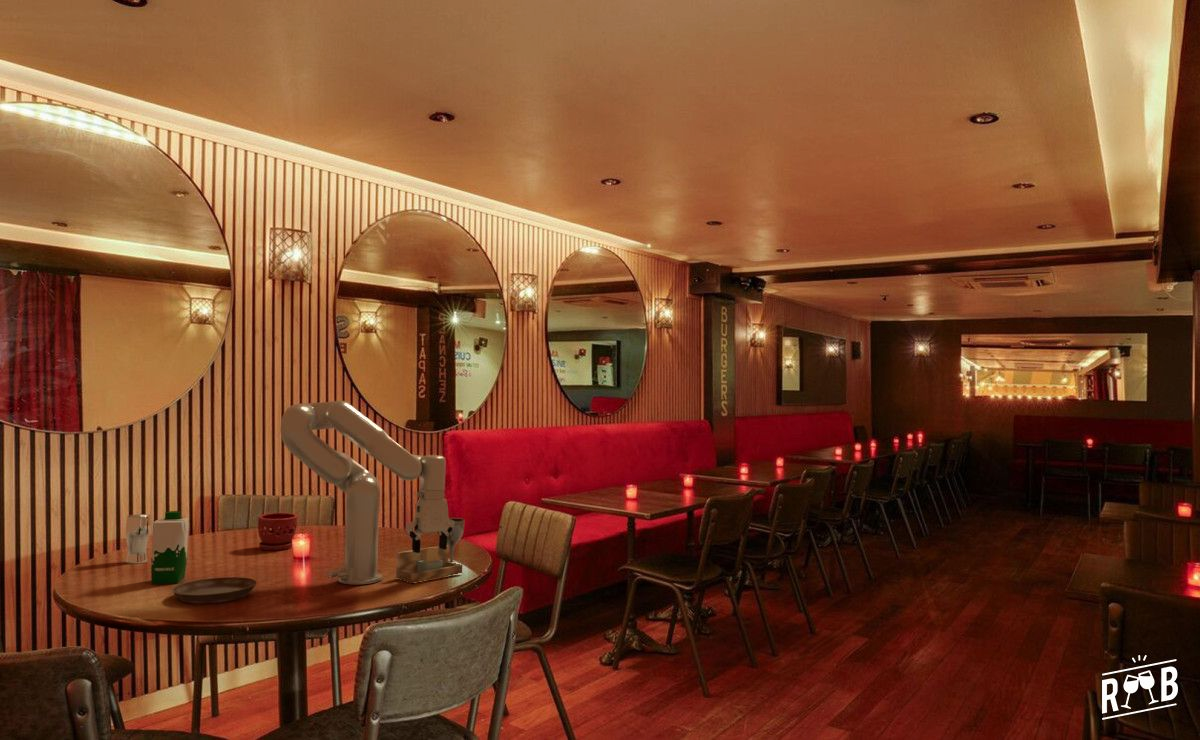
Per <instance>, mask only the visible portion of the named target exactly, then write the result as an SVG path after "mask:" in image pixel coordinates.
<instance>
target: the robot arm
mask: <svg viewBox="0 0 1200 740" xmlns="http://www.w3.org/2000/svg"><path fill="white" fill-rule="evenodd" d="M330 429H334V430H336V431H337V432H338V433H340V434H341V435H342V436H343V437H345V438H346V439H348V440H349V441H350V442H352V443H353V444H354V445H356V446H357V447H358V448H359V449H361V450H362V451H363V452H365V453H366V454H367V455H369V456H370V457H371V458H374V460H376V461H377V462H379V463H380V464H381V465H383V466H384V467H385V468H387V469H388V470H389V471H391V472H392V473H393V474H394V475H396V476H397V477H399V478H400V479H401V480H403V481H406V482H407V481H408V482H409V481H414V480H416V479H418V478H419V477H420V478H419V479H420V480H419V481H420V483H419V485H420V486H419V492H417V493H416V497H418V498H419V499H417V503H416V505H415V506H416V507H415V511H414V512H415V513H414V520H412V521H411V522H409V523H408V524H407V525H405V530H406V533H407V534H408V535H409V537H410V539H412V540H411V541H412V542H411V550H413V552H415V553H420V549H421V537H422V535H423V534H434V533H439V534H440V535H439V536H438V537H439V542H438V546H439V548H441V549H447V545H448V544H447V536H449V533H450V532H451V531H452V527H453V526H454V524H455V521H453V520H451V519H449V518H450V517H449V507H448V500H447V499H446V498H445V491H446V489H445V488H446V486H445V485H446V464H447V461H446V457H444V456H442V455H437V454H436V455H435V454H429V455H427V454H426V455H419V454H414V453H413V454H411V453H410V452H409V451H408V450H407V449H405V448H404V447H403V446H401V445H400V444H399V443H397V442H396V441H395V440H394V439H393V438H391V437H390V436H389V434H388V432H386V431H385V430H384V429H383V428H382V427H381V426H379V425H378V424H377V423H375V422H374V421H372V420H371V419H370V418H369V417H367V416H366V415H364V413H362V412H361V411H359V410H358V409H357V408H355V406H353V405H352V404H351V403H349V402H348V401H345V400H334V401H326V402H308V403H307V402H305V403H295V404H292V405H290V406H288V408H287V409H285V411H284V413H283V414H282V417H281V421H280V430H279V431H280V436H281V440H282V442H283V444H284V445H285V447H286V449H287V450H288V451H289V452H290V453H291V454H292V455H293V456H294V457H296V458H297V459H298V460H299V461H300V462H301V463H302V464H304V465H305V466H306V467H307V468H309V469H310V470H311V471H312V472H314V473H315V474H316V475H318V476H319V477H320V478H321V479H322V480H323V481H324V482H325V483H327V484H331V485H334V486H335V487H337V489H339V490H340V491H342V492H343V493H345V494H346V495H345V498H346V499H345V500H346V501H345V502H346V503H345V504H346V505H345V506H346V507H345V538H344V539H345V540H344V541H345V542H344V565H341V566H340V568H339V569H338V570H329V571H328V578H330V579H332V578H338V582H339V583H341V584H344V585H353V586H356V585H357V586H358V585H371V584H374V583H379V582H380V581H381V580H383V575H382V574H381V573H379V572H378V559H379V558H378V551H379V549H378V548H379V526H380V525H379V521H380V520H379V518H380V500H381V487H380V483H379V481H378V479H377V477H376V476H375V475H374V474H372V473H371V472H369V470H367V469H366V468H365V467H363V466H362V465H361V464H360V463H358V462H357V461H356V460H355V459H354V458H352V457H351V456H350V455H348V454H346V453H345V452H342V451H339V450H338V451H337V450H336V449H334V447H333V448H332V447H331V446H330V445H329V444H327V443H326V441H324V440H323V439H322V438H321V437H319V436H317V434H315V433H314V431H318V430H319V431H320V430H330ZM413 529H414V530H413Z"/></svg>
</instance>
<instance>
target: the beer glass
mask: <svg viewBox="0 0 1200 740" xmlns="http://www.w3.org/2000/svg"><path fill="white" fill-rule="evenodd" d="M151 523H152V522H151V515H150V514H146V513H145V514H144V513H143V514H130V515H127V516H126V523H125V540H126V548H127V554H126V558H125V563H126V564H129V565H130V564H131V565H132V564H135V565H136V564H141V563H143V564H144V563H146V562H148V555H147V551H148V550H147V549H148V544H149V539H150V536H151V535H150V534H151V526H152V525H151Z"/></svg>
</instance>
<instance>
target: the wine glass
mask: <svg viewBox="0 0 1200 740" xmlns="http://www.w3.org/2000/svg"><path fill="white" fill-rule="evenodd" d="M448 518H449V519H451V520H453V521H455V524H454V526H453V527H452V531H451V532H450V533H449V536H447V545H448V546H449V553H450V554H449V556H450V558H449V560H448V561H449V562H455V561H454V560H453V556H454V549H455V546H456V545H457V543H458V542H459V541H460V539H461V538H463V534H464V530H465V518H462V517H448Z"/></svg>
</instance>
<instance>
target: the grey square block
mask: <svg viewBox="0 0 1200 740" xmlns="http://www.w3.org/2000/svg"><path fill="white" fill-rule="evenodd" d="M422 549H423V560H421V561H417V572H422V571H428V570H433V569H439V568H443V561H442V560H438V548H437V546H431V547H425V548H422Z"/></svg>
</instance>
